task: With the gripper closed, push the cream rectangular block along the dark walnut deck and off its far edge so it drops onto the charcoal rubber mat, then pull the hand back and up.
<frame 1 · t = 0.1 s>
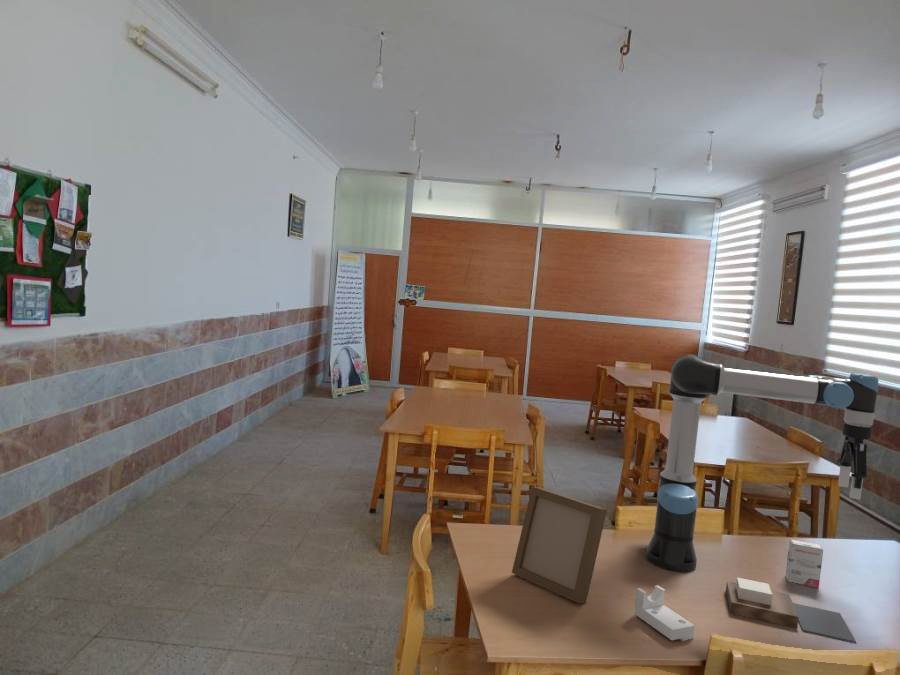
hand: (848, 492, 195), 28 cm above the table, tool pointing down, fingers open, 13 cm apart
mat: (821, 622, 168), on the table
bracket: (662, 628, 158), on the table
cream rectangular block: (752, 596, 173), point 3 cm above the table, touching deck
photo frame: (558, 584, 177), on the table
ink box: (801, 582, 194), on the table
deck: (759, 608, 173), on the table
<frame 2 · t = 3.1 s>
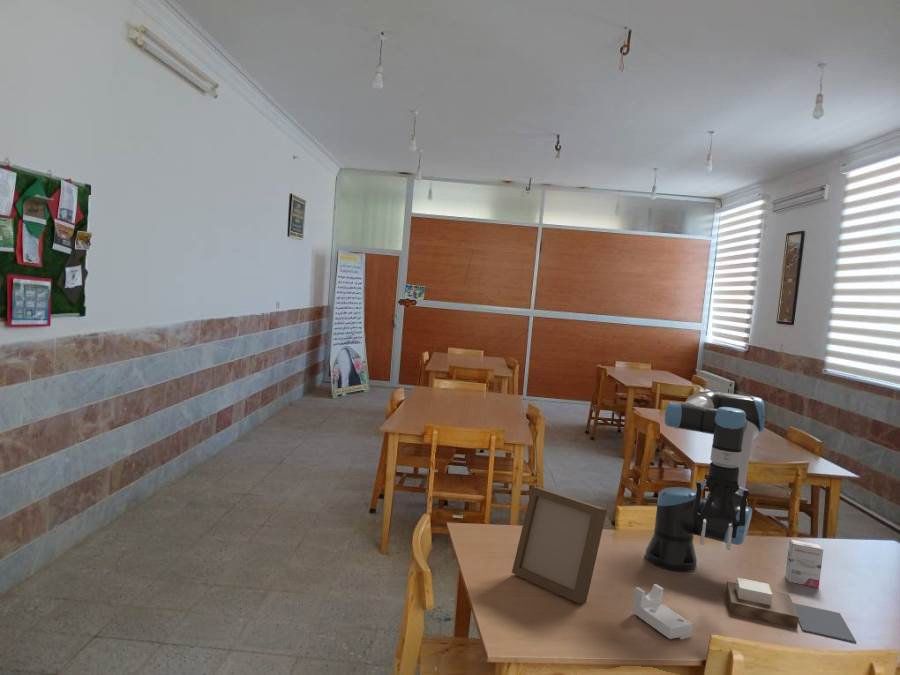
hand: (714, 545, 176), 15 cm above the table, tool pointing down, fingers open, 6 cm apart
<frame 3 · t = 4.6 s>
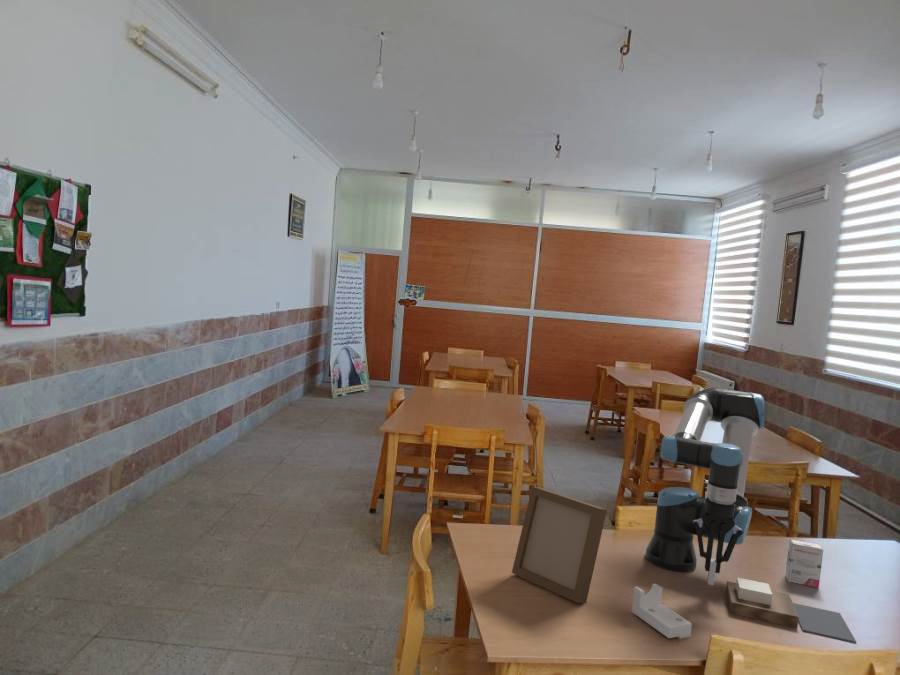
hand: (710, 582, 177), 4 cm above the table, tool pointing down, fingers closed
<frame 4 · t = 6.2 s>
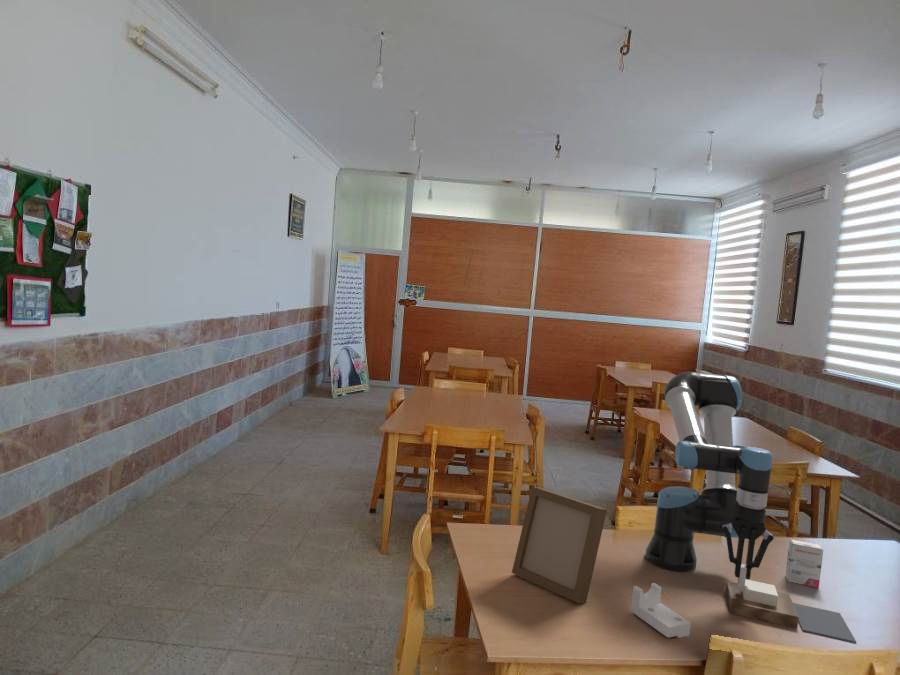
hand: (740, 589, 174), 4 cm above the table, tool pointing down, fingers closed
cream rectangular block: (758, 597, 173), point 3 cm above the table, touching deck, gripper
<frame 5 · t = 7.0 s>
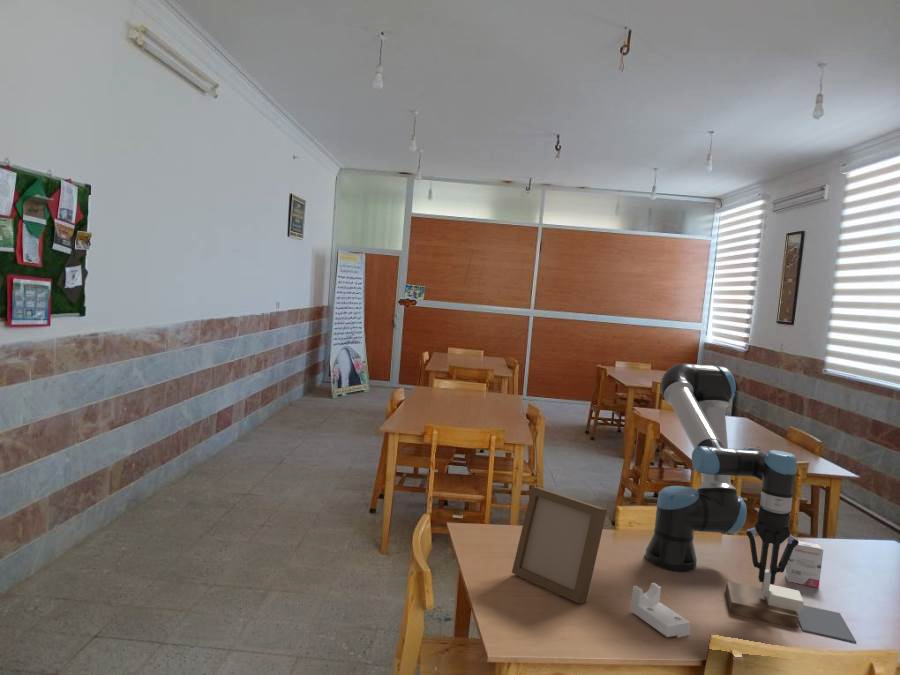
hand: (764, 594, 172), 4 cm above the table, tool pointing down, fingers closed
cream rectangular block: (783, 603, 171), point 3 cm above the table, touching deck, gripper
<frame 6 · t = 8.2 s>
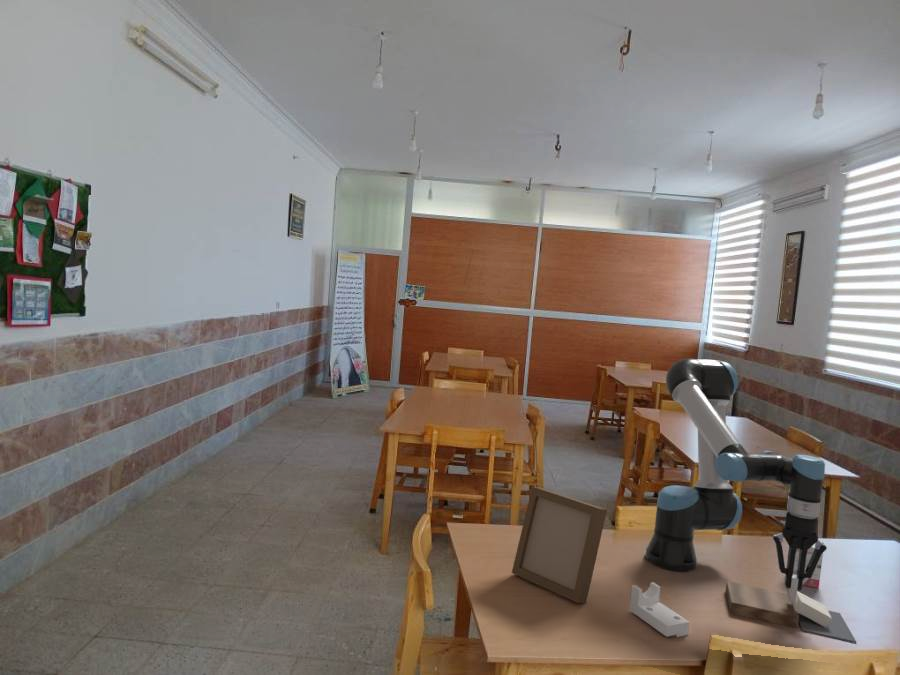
hand: (791, 600, 170), 4 cm above the table, tool pointing down, fingers closed
cream rectangular block: (807, 613, 169), point 2 cm above the table, tilted 20°, touching deck, gripper, mat
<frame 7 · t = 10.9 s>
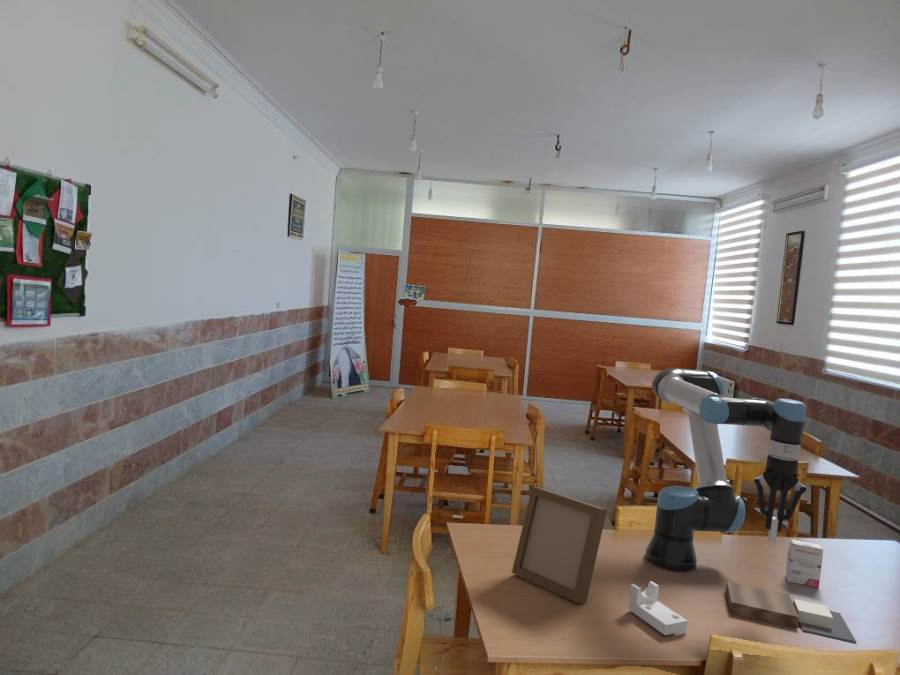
hand: (771, 541, 173), 19 cm above the table, tool pointing down, fingers closed
cream rectangular block: (811, 618, 169), resting on mat
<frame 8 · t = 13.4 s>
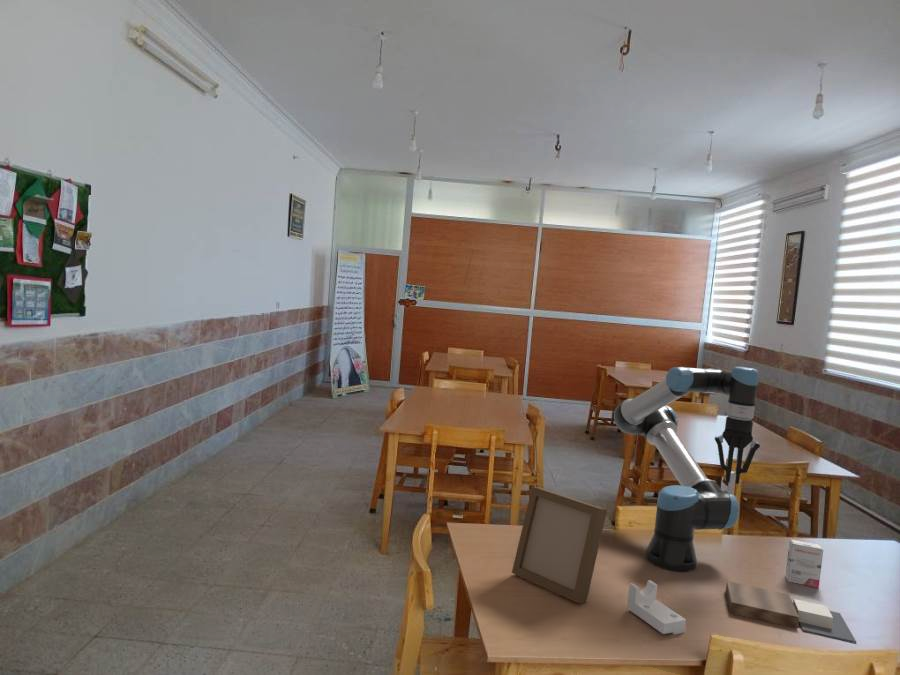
hand: (730, 493, 195), 24 cm above the table, tool pointing down, fingers closed
at the end: cream rectangular block inside the target area (2.8 cm from its centre), resting on mat; cream rectangular block touching mat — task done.
